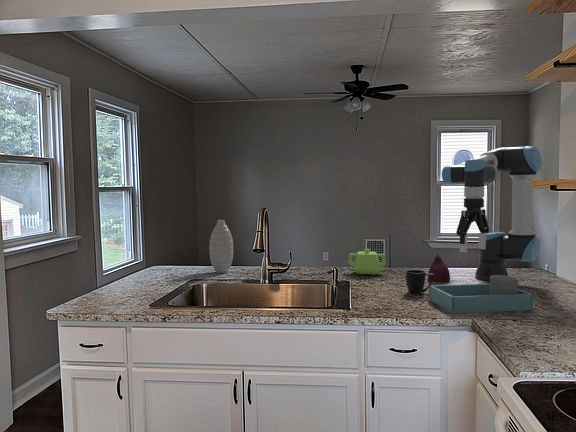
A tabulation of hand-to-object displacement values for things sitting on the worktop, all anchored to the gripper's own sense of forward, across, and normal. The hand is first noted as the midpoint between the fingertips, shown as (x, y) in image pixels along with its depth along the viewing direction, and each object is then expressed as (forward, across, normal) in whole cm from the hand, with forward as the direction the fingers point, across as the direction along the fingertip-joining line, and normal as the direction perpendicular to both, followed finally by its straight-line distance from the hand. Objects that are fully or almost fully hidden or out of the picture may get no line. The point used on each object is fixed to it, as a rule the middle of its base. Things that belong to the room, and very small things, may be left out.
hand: (472, 250), depth 191 cm
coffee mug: (+20, -4, +11) cm, 23 cm away
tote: (+20, +4, +5) cm, 22 cm away
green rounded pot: (+21, -12, -68) cm, 72 cm away
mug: (+21, +6, -21) cm, 30 cm away
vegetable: (+21, -24, -32) cm, 45 cm away
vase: (+21, +49, -118) cm, 129 cm away
